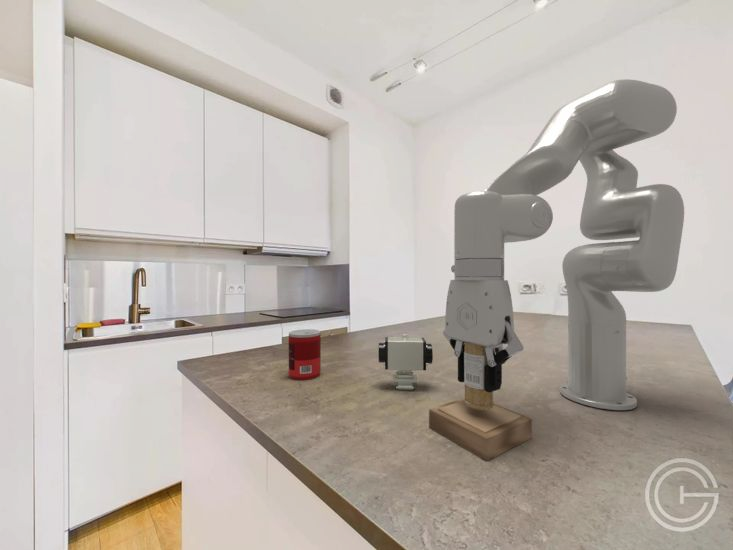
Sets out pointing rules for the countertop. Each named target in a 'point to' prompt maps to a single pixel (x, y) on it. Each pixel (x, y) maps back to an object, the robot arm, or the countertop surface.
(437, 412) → the tan square tray
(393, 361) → the pneumatic valve
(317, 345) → the canned food
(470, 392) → the sprinkles bottle
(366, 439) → the countertop surface
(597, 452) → the countertop surface
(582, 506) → the countertop surface
